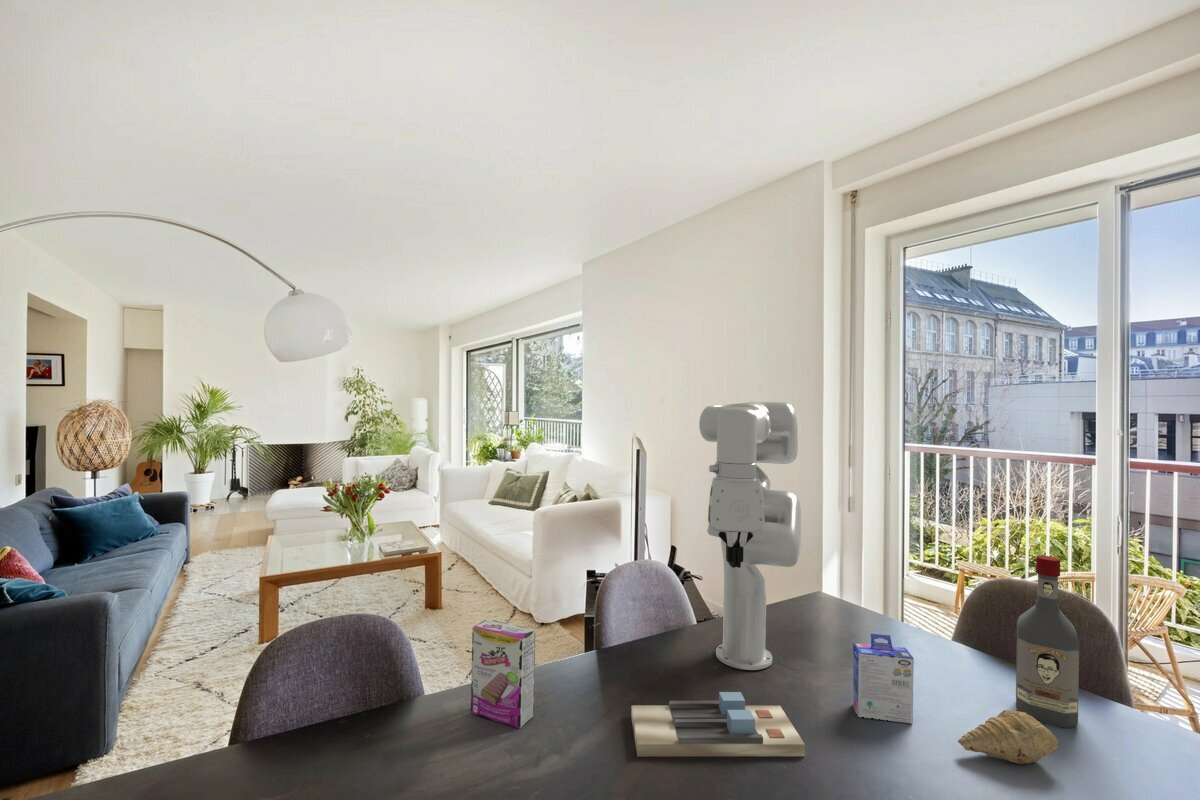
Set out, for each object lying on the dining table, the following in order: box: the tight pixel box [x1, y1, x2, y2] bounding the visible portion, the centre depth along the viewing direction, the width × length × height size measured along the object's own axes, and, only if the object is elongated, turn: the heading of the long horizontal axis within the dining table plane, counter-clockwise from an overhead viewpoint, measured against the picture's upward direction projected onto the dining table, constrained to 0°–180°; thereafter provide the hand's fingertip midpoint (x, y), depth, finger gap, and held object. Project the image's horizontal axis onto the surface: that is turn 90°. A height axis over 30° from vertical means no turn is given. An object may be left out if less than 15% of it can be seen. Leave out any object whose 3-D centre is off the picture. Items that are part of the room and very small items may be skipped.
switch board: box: [630, 700, 806, 757], centre depth 100 cm, size 12×28×3 cm, turn 92°
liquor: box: [1015, 554, 1080, 729], centre depth 109 cm, size 9×9×30 cm
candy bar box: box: [470, 618, 536, 729], centre depth 105 cm, size 11×5×16 cm, turn 65°
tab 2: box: [727, 710, 755, 734], centre depth 97 cm, size 3×4×3 cm
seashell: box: [957, 709, 1059, 765], centre depth 95 cm, size 14×8×8 cm, turn 93°
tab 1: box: [718, 691, 746, 714], centre depth 103 cm, size 3×4×3 cm
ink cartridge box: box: [852, 633, 915, 724], centre depth 108 cm, size 10×6×14 cm, turn 78°
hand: (734, 565), depth 110 cm, fingers closed
